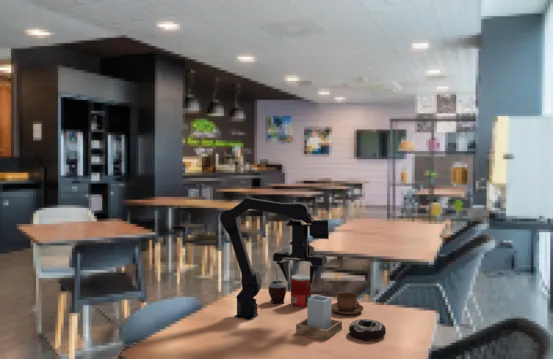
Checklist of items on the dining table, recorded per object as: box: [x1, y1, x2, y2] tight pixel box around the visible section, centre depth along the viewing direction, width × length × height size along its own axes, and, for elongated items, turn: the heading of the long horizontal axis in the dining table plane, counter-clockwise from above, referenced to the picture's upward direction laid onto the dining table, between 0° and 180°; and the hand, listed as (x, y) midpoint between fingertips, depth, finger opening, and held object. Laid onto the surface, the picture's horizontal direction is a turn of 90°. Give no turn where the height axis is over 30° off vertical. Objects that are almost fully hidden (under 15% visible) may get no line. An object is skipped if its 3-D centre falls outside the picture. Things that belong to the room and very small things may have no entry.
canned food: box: [290, 274, 312, 308], centre depth 192 cm, size 8×8×11 cm
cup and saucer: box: [331, 292, 364, 315], centre depth 184 cm, size 12×12×6 cm
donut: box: [348, 318, 387, 341], centre depth 159 cm, size 12×12×4 cm
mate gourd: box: [267, 261, 287, 305], centre depth 195 cm, size 8×8×15 cm
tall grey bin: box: [306, 294, 332, 330], centre depth 162 cm, size 6×6×10 cm
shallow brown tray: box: [295, 318, 343, 341], centre depth 162 cm, size 11×11×3 cm
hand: (299, 282), depth 174 cm, fingers open, 9 cm apart
